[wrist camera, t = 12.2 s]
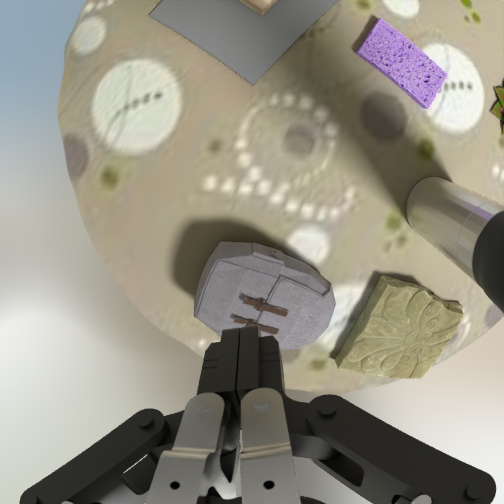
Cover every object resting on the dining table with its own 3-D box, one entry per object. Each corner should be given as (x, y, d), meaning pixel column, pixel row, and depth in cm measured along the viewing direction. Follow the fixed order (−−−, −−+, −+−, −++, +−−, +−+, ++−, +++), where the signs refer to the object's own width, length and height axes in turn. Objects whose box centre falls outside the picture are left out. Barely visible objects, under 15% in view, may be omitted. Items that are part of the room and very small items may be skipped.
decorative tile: (415, 372, 55) (421, 383, 52) (332, 359, 53) (336, 372, 50) (464, 296, 48) (473, 306, 45) (381, 269, 46) (389, 279, 43)
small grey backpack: (189, 306, 49) (304, 343, 51) (179, 338, 41) (311, 378, 44) (221, 219, 43) (348, 268, 46) (213, 241, 36) (365, 297, 38)
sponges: (422, 109, 37) (428, 109, 35) (353, 53, 34) (357, 50, 33) (442, 75, 34) (448, 74, 33) (376, 20, 32) (380, 16, 30)
